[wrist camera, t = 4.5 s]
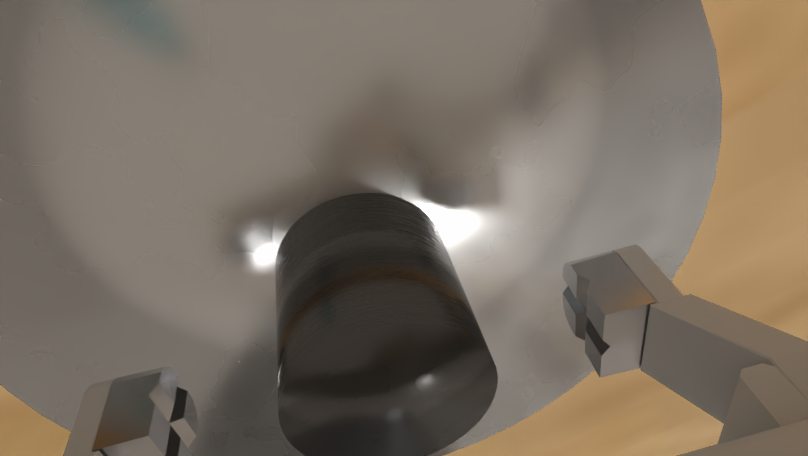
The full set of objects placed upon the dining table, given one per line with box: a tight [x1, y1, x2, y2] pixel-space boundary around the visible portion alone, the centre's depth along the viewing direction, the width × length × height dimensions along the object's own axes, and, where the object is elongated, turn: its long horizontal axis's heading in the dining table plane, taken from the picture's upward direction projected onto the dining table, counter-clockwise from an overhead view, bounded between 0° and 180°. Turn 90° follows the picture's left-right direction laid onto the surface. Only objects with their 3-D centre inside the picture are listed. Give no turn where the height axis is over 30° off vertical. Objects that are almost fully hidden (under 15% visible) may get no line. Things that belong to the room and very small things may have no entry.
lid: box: [0, 0, 722, 456], centre depth 12 cm, size 18×18×5 cm
